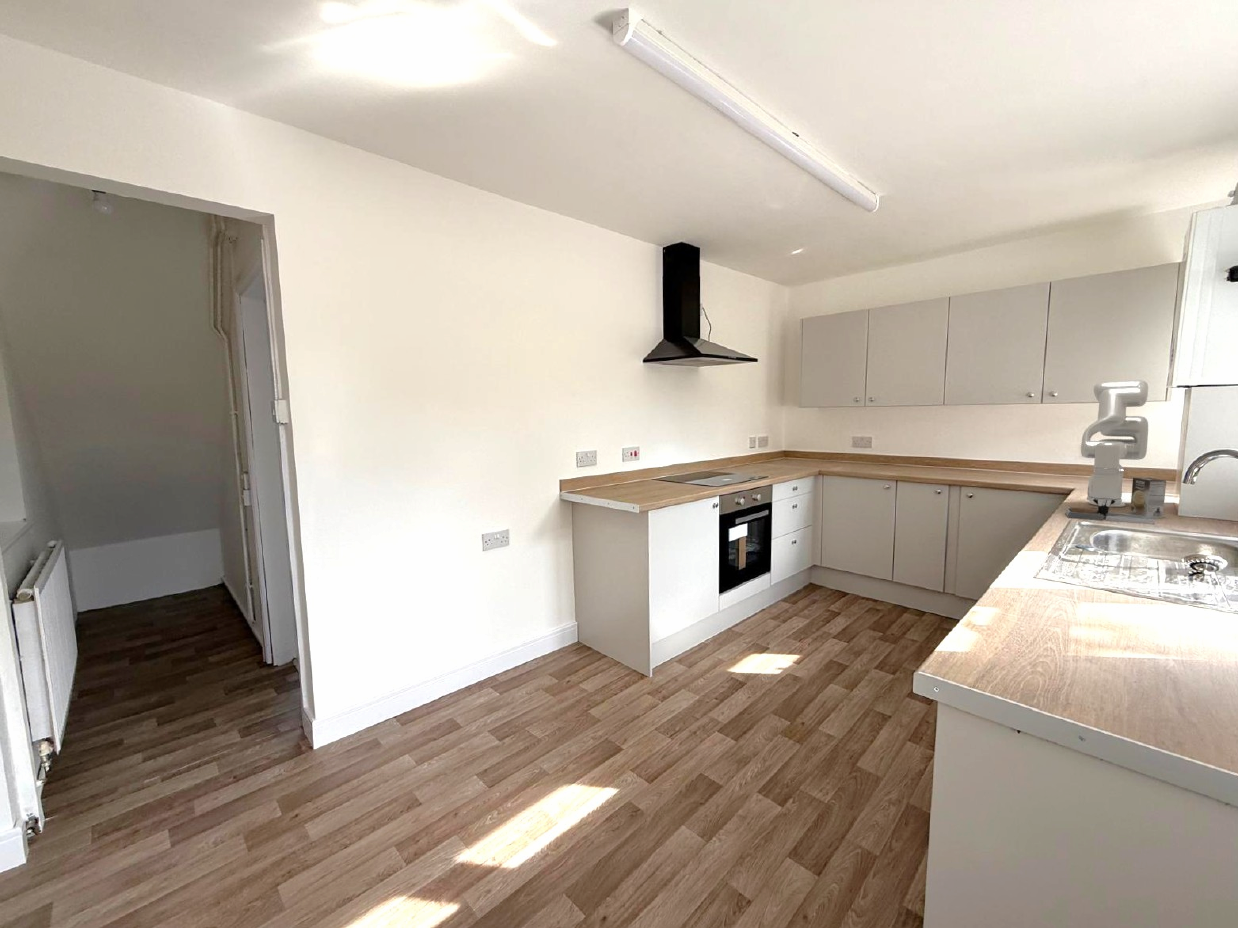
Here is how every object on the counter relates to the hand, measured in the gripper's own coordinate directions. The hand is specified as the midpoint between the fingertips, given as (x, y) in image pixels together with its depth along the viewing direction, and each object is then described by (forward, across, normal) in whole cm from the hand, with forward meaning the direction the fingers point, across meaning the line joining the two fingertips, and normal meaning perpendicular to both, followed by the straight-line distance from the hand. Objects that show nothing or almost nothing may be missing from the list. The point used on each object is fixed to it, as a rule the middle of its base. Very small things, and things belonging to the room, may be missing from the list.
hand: (1102, 515), depth 212 cm
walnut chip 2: (+1, +4, 0) cm, 4 cm away
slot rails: (+1, -7, 0) cm, 8 cm away
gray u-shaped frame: (+1, +6, 0) cm, 6 cm away
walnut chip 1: (+1, +8, 0) cm, 8 cm away
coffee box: (+2, -15, -15) cm, 21 cm away
